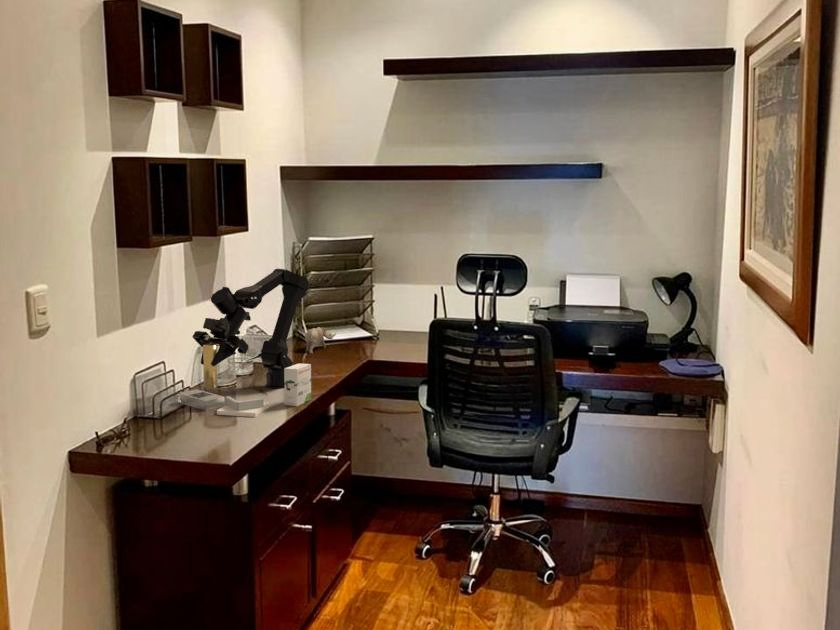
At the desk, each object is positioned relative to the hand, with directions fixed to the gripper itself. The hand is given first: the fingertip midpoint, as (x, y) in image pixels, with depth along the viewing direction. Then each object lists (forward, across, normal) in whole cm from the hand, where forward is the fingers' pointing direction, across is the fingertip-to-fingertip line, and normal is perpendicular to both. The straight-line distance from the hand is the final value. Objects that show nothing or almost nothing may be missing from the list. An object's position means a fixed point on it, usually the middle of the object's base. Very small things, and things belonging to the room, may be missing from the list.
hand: (207, 364), depth 253 cm
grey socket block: (+8, -4, +10) cm, 14 cm away
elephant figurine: (-54, -27, +74) cm, 95 cm away
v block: (+7, +11, +12) cm, 18 cm away
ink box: (-4, +19, +24) cm, 31 cm away
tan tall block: (+4, 0, +6) cm, 7 cm away
